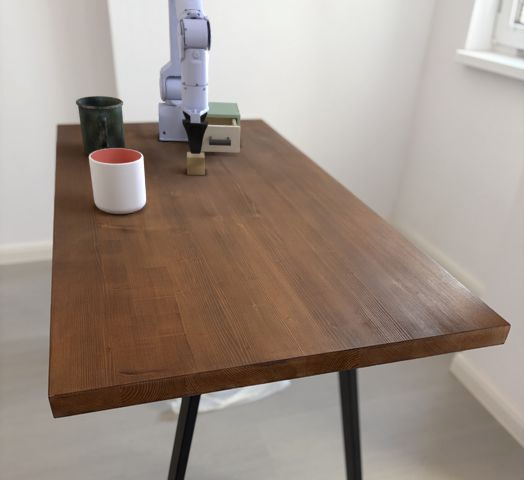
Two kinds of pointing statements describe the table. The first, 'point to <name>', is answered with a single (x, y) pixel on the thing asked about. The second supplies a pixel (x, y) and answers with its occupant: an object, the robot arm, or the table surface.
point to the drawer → (221, 135)
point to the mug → (101, 123)
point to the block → (195, 164)
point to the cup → (118, 180)
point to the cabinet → (224, 111)
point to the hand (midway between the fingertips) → (195, 148)
